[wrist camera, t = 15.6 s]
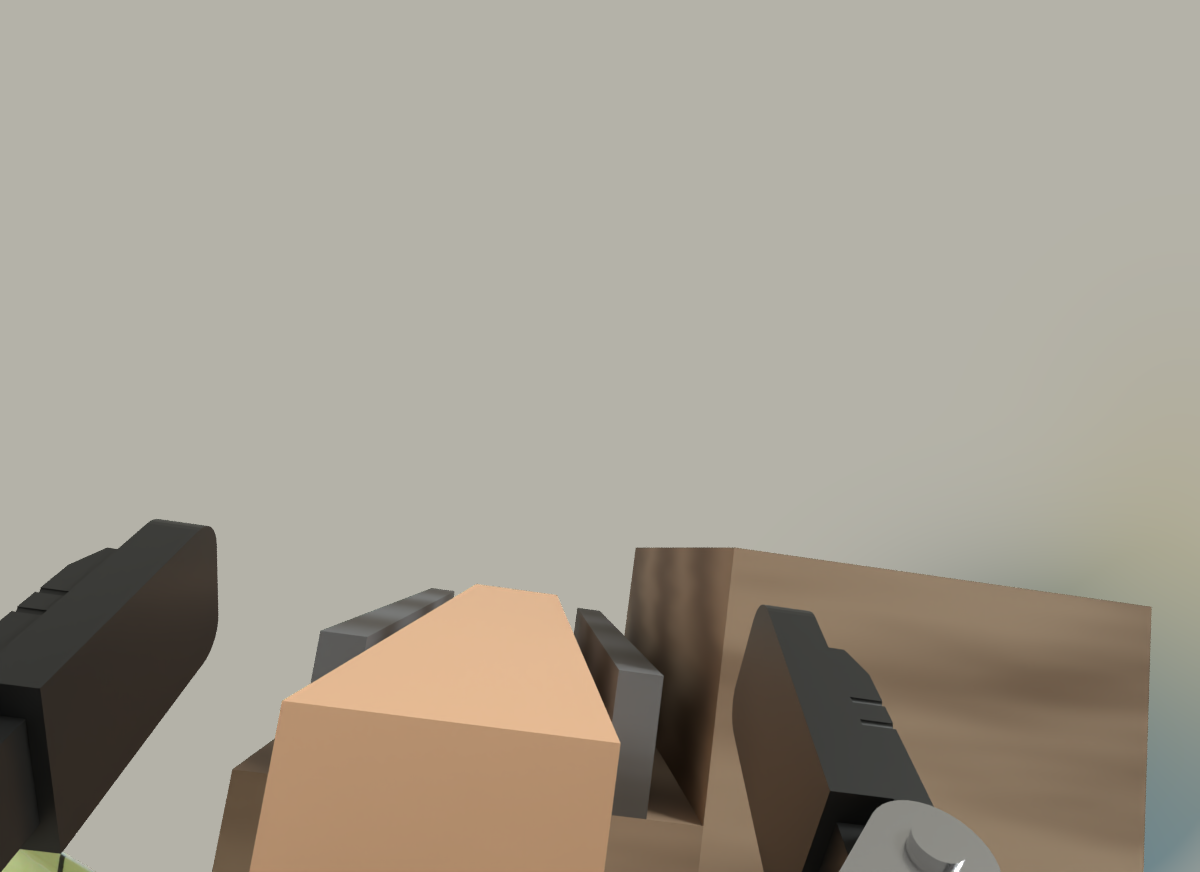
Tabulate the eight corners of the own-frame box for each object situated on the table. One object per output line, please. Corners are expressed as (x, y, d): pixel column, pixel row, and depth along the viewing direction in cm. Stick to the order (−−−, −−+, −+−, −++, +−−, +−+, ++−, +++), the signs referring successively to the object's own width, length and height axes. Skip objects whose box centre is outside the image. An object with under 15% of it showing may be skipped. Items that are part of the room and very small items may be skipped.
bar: (572, 1114, 8) (620, 744, 8) (209, 1080, 7) (282, 700, 8) (545, 678, 33) (556, 595, 34) (462, 667, 33) (476, 583, 34)
